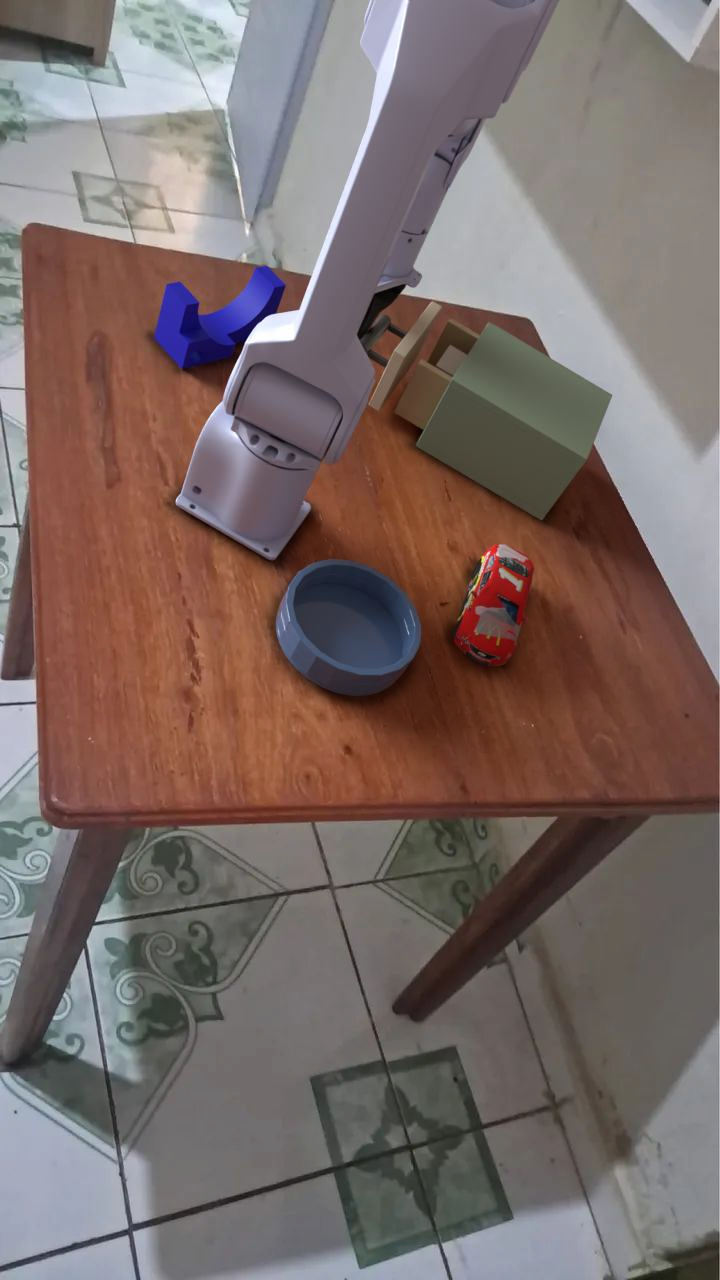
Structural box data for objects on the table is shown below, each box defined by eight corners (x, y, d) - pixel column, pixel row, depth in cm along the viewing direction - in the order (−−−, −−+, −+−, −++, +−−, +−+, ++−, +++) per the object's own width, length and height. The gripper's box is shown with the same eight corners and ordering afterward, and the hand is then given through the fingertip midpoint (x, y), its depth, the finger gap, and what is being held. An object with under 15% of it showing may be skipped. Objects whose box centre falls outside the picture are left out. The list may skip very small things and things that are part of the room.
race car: (498, 682, 80) (521, 655, 77) (442, 651, 80) (462, 624, 77) (529, 581, 89) (551, 554, 86) (478, 554, 88) (498, 525, 85)
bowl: (251, 647, 73) (262, 624, 71) (310, 560, 80) (321, 537, 78) (377, 720, 73) (392, 700, 71) (424, 627, 80) (439, 606, 78)
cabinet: (415, 446, 94) (451, 379, 88) (453, 386, 103) (489, 321, 96) (541, 520, 95) (587, 459, 88) (569, 455, 103) (612, 394, 97)
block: (417, 399, 96) (436, 364, 92) (431, 379, 99) (450, 344, 95) (456, 422, 96) (476, 388, 92) (469, 401, 99) (488, 367, 95)
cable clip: (181, 369, 89) (196, 315, 84) (153, 337, 90) (166, 283, 85) (277, 345, 96) (295, 294, 92) (250, 316, 97) (267, 265, 93)
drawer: (333, 385, 94) (357, 329, 89) (374, 335, 102) (399, 280, 97) (485, 474, 94) (518, 424, 89) (515, 418, 102) (546, 368, 97)
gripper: (413, 268, 81) (358, 390, 91) (462, 210, 91) (407, 325, 101) (342, 226, 81) (294, 352, 91) (399, 172, 91) (350, 291, 101)
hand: (350, 336), depth 96 cm, fingers closed, pressing on drawer
